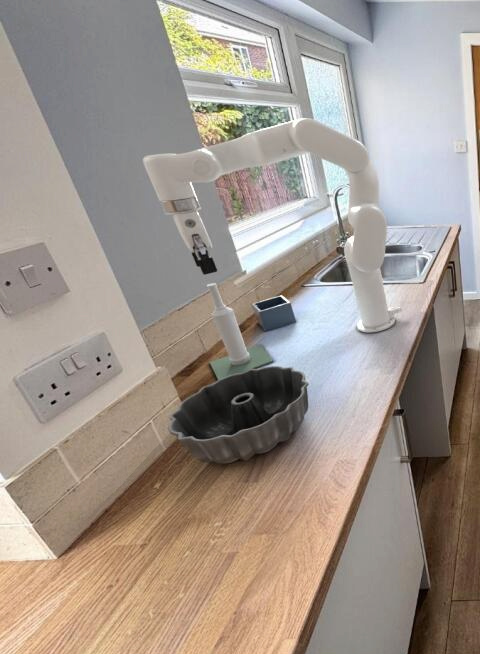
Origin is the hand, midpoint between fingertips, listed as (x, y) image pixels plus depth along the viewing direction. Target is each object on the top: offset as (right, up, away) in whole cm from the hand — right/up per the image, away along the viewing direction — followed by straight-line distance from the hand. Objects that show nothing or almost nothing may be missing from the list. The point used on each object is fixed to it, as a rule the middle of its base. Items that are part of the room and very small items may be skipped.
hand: (207, 269), depth 109 cm
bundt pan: (+24, -39, -16) cm, 49 cm away
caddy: (-3, -16, +37) cm, 40 cm away
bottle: (+1, -27, +12) cm, 30 cm away
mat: (+1, -27, +12) cm, 30 cm away
